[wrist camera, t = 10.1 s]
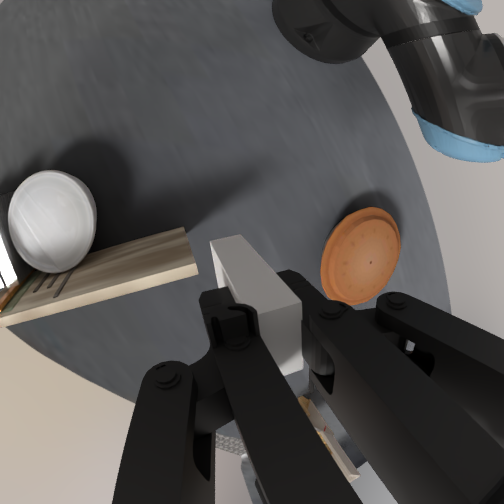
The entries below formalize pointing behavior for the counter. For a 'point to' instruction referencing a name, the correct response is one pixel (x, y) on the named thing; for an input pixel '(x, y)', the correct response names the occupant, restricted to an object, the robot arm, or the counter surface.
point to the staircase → (322, 429)
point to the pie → (360, 256)
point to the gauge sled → (10, 255)
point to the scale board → (103, 276)
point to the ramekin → (52, 220)
